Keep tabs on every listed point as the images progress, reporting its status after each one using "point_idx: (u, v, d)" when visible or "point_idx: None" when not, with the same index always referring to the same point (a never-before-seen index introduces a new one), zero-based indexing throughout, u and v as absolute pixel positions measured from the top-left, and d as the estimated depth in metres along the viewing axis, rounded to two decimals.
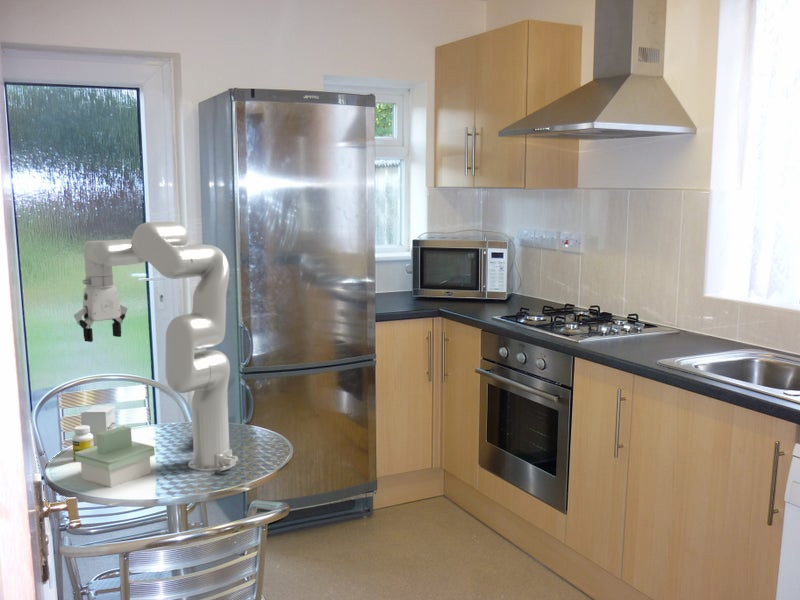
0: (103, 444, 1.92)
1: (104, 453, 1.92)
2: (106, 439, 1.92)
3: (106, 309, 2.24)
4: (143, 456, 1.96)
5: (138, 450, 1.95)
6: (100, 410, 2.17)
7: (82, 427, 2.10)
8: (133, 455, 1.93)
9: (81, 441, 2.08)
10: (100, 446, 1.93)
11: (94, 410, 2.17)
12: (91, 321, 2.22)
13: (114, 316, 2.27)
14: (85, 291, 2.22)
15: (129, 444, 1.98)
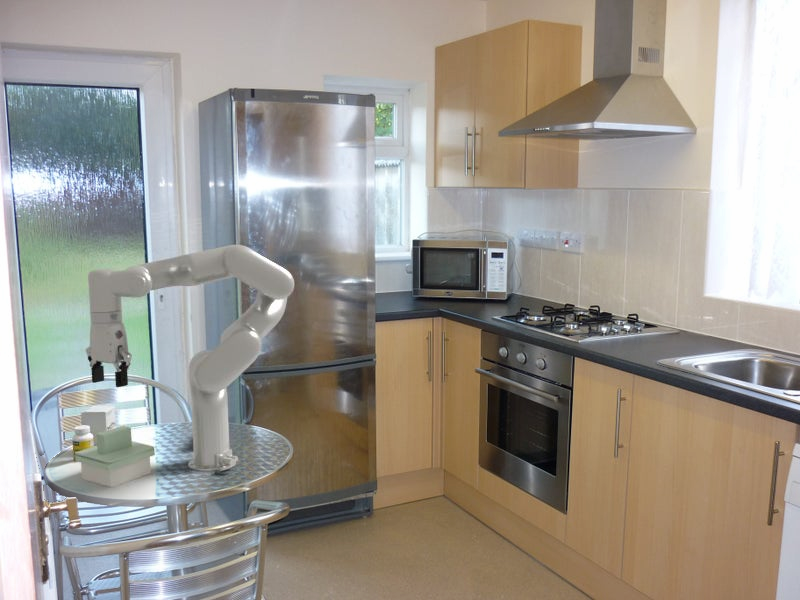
0: (103, 444, 1.92)
1: (104, 453, 1.92)
2: (106, 439, 1.92)
3: None
4: (143, 456, 1.96)
5: (138, 450, 1.95)
6: (100, 410, 2.17)
7: (82, 427, 2.10)
8: (133, 455, 1.93)
9: (81, 441, 2.08)
10: (100, 446, 1.93)
11: (94, 410, 2.17)
12: None
13: None
14: (116, 328, 1.90)
15: (129, 444, 1.98)
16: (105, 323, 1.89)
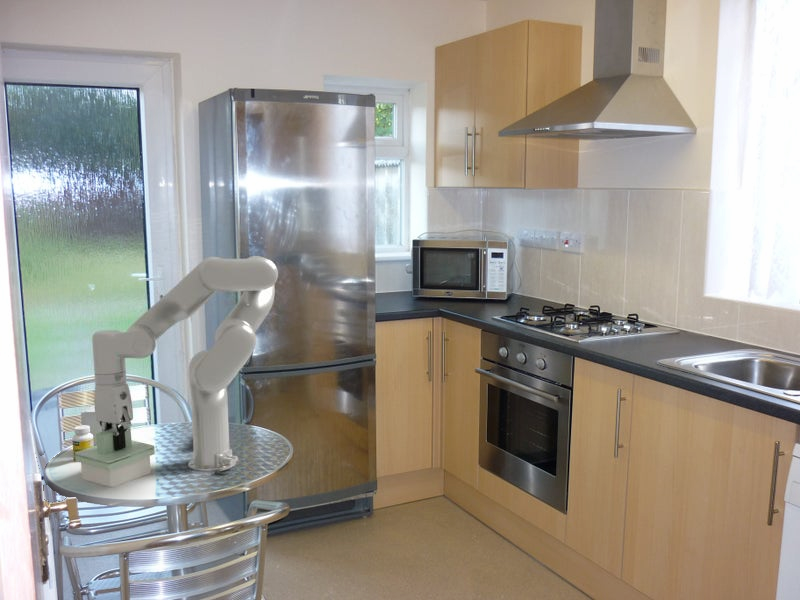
0: (103, 444, 1.92)
1: (104, 453, 1.92)
2: (106, 438, 1.92)
3: None
4: (143, 455, 1.96)
5: (138, 449, 1.95)
6: None
7: (82, 427, 2.10)
8: (133, 455, 1.93)
9: (81, 441, 2.08)
10: (100, 446, 1.93)
11: (94, 410, 2.17)
12: None
13: None
14: (120, 390, 1.92)
15: (129, 443, 1.98)
16: (109, 385, 1.91)
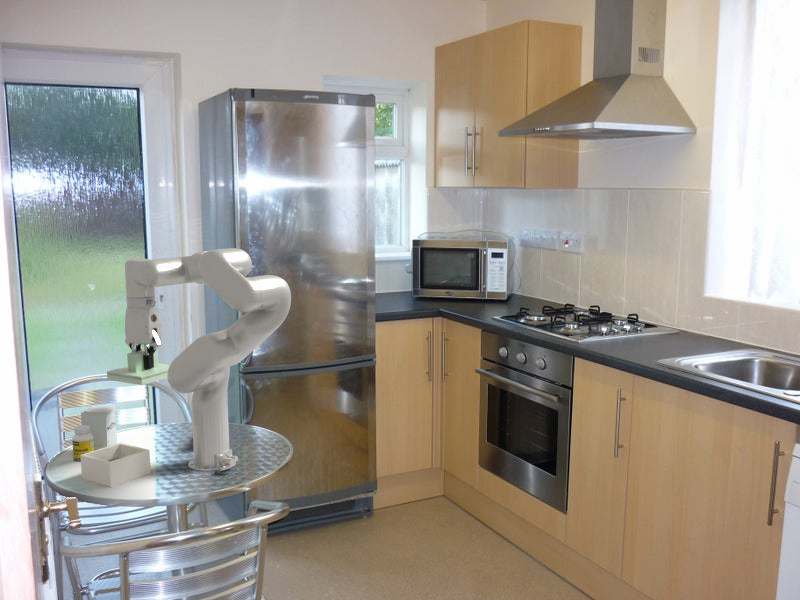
0: (134, 362, 2.09)
1: (135, 371, 2.09)
2: (137, 358, 2.09)
3: None
4: None
5: (166, 369, 2.13)
6: (100, 410, 2.17)
7: (82, 427, 2.10)
8: (162, 373, 2.10)
9: (81, 441, 2.08)
10: (131, 365, 2.10)
11: (94, 410, 2.17)
12: None
13: None
14: (151, 312, 2.09)
15: (156, 364, 2.15)
16: (141, 308, 2.08)
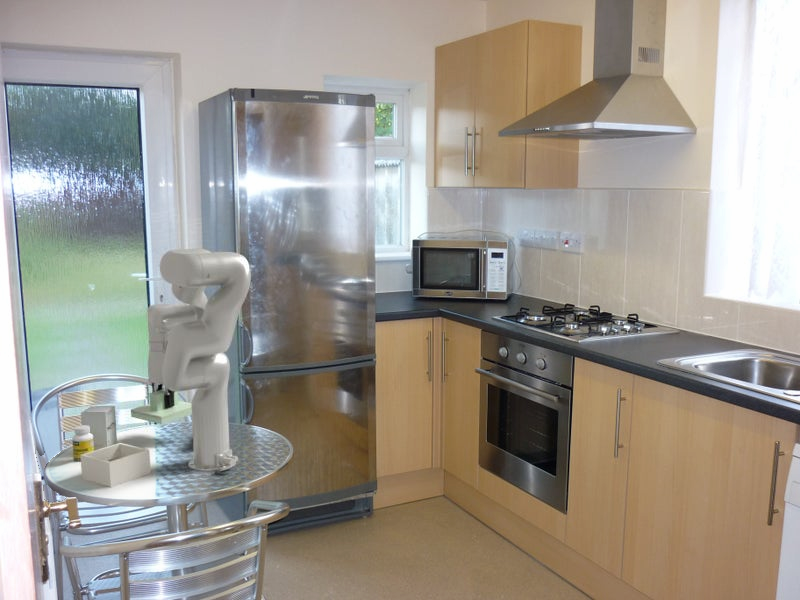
0: (156, 402, 2.23)
1: (156, 410, 2.23)
2: (158, 397, 2.23)
3: None
4: (190, 413, 2.26)
5: (185, 407, 2.26)
6: (100, 410, 2.17)
7: (82, 427, 2.10)
8: (181, 411, 2.24)
9: (81, 441, 2.08)
10: (153, 404, 2.24)
11: (94, 410, 2.17)
12: None
13: None
14: None
15: (177, 402, 2.29)
16: (162, 351, 2.21)
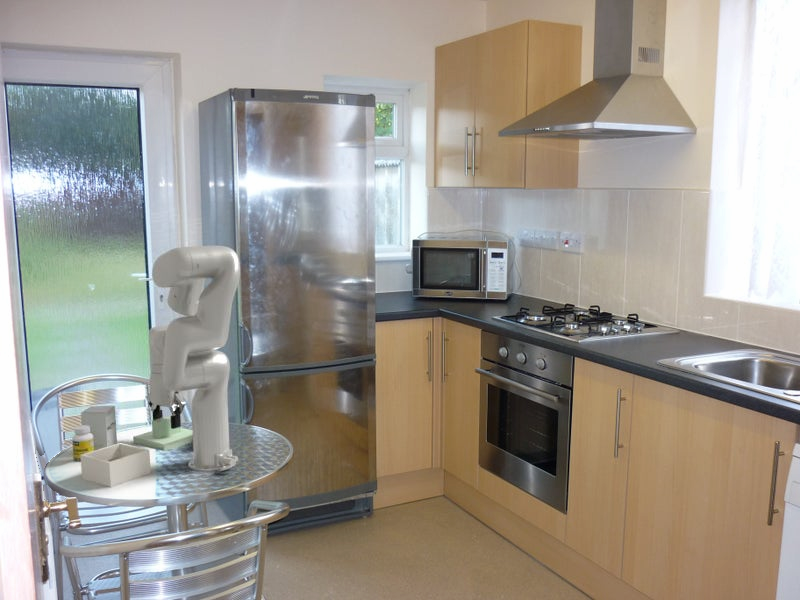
0: (158, 429, 2.23)
1: (159, 437, 2.24)
2: (160, 425, 2.24)
3: None
4: (192, 440, 2.27)
5: (187, 435, 2.27)
6: (100, 410, 2.17)
7: (82, 427, 2.10)
8: (183, 439, 2.24)
9: (81, 441, 2.08)
10: (155, 432, 2.24)
11: (94, 410, 2.17)
12: None
13: None
14: None
15: (179, 430, 2.29)
16: None
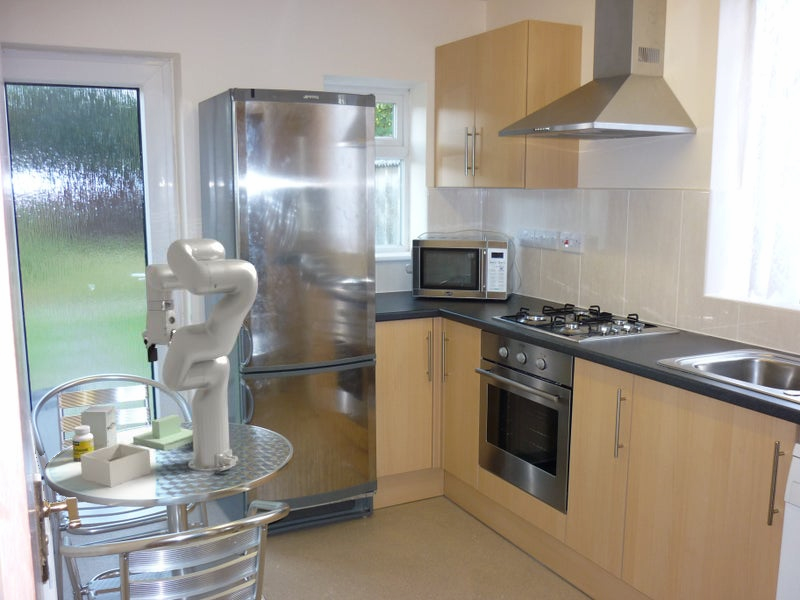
0: (158, 429, 2.23)
1: (159, 437, 2.24)
2: (160, 425, 2.24)
3: None
4: (192, 440, 2.27)
5: (187, 435, 2.27)
6: (100, 410, 2.17)
7: (82, 427, 2.10)
8: (183, 439, 2.24)
9: (81, 441, 2.08)
10: (155, 432, 2.24)
11: (94, 410, 2.17)
12: None
13: None
14: (169, 315, 2.21)
15: (179, 430, 2.29)
16: (160, 310, 2.20)
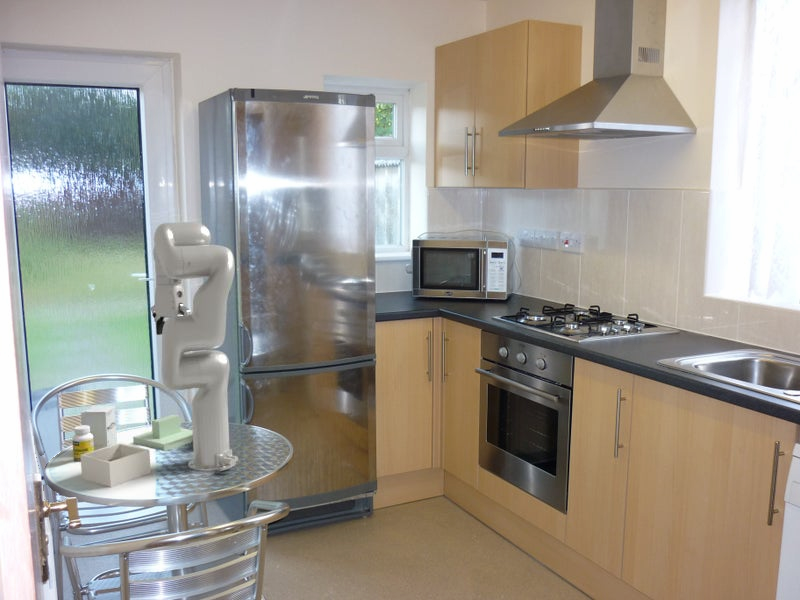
0: (158, 429, 2.23)
1: (159, 437, 2.24)
2: (160, 425, 2.24)
3: None
4: (192, 440, 2.27)
5: (187, 435, 2.27)
6: (100, 410, 2.17)
7: (82, 427, 2.10)
8: (183, 439, 2.24)
9: (81, 441, 2.08)
10: (155, 432, 2.24)
11: (94, 410, 2.17)
12: None
13: None
14: (177, 289, 2.32)
15: (179, 430, 2.29)
16: (168, 285, 2.32)
